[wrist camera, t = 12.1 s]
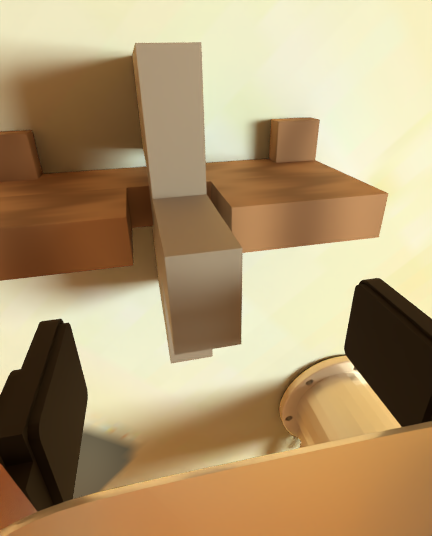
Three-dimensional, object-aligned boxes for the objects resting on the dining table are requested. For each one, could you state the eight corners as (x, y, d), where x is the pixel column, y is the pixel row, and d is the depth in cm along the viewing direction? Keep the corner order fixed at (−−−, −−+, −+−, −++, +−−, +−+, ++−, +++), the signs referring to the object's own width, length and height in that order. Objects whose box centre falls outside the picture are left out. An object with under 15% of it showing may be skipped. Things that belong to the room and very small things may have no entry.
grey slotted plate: (188, 275, 30) (239, 445, 16) (158, 279, 30) (185, 457, 16) (172, 55, 22) (245, 22, 9) (132, 55, 22) (140, 22, 8)
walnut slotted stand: (310, 117, 26) (400, 138, 17) (299, 220, 30) (369, 279, 21) (-20, 132, 22) (-114, 169, 13) (17, 249, 26) (-38, 335, 17)
